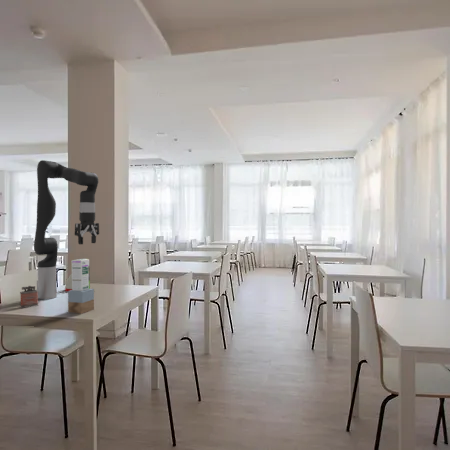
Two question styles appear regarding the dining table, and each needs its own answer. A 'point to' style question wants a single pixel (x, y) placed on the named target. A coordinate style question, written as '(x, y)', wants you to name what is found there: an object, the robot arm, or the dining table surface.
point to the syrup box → (80, 275)
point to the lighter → (29, 296)
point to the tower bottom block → (81, 306)
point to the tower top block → (80, 296)
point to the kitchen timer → (68, 283)
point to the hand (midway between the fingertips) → (87, 243)
